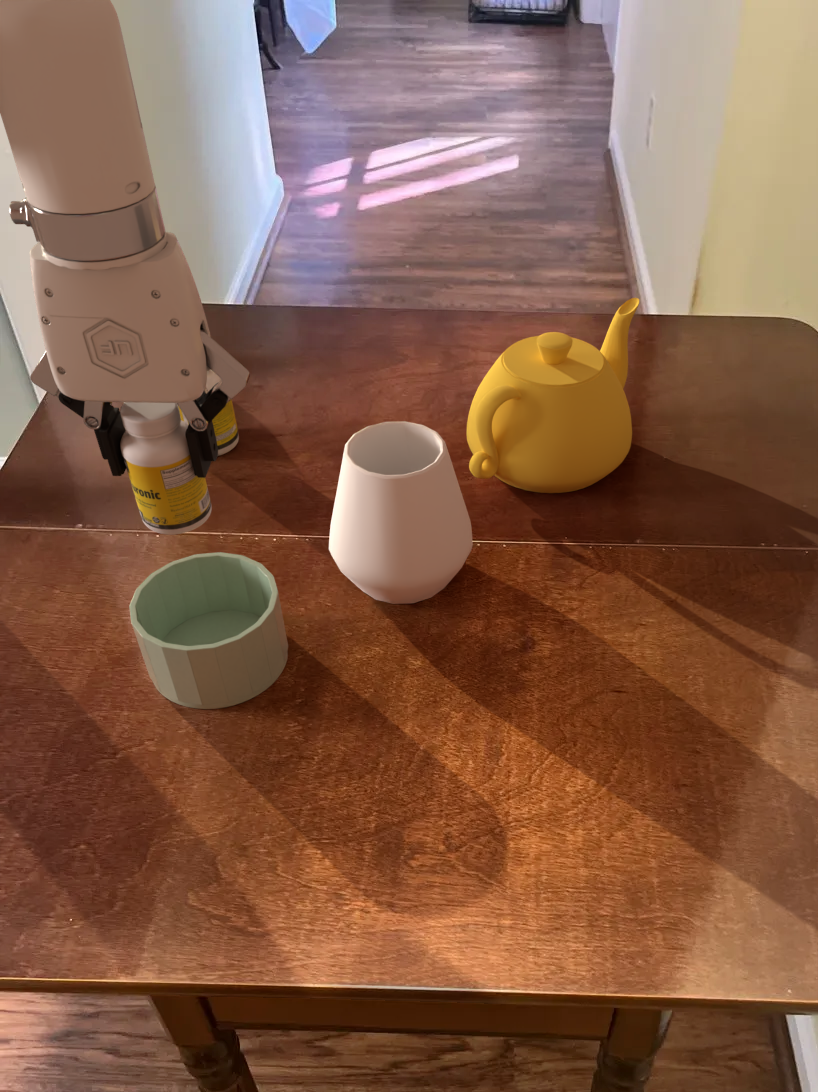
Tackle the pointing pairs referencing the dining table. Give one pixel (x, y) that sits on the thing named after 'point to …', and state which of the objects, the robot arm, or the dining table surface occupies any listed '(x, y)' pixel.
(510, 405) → the teapot
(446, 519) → the cup
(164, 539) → the dining table surface
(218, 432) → the pill bottle
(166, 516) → the supplement bottle
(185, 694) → the bowl
